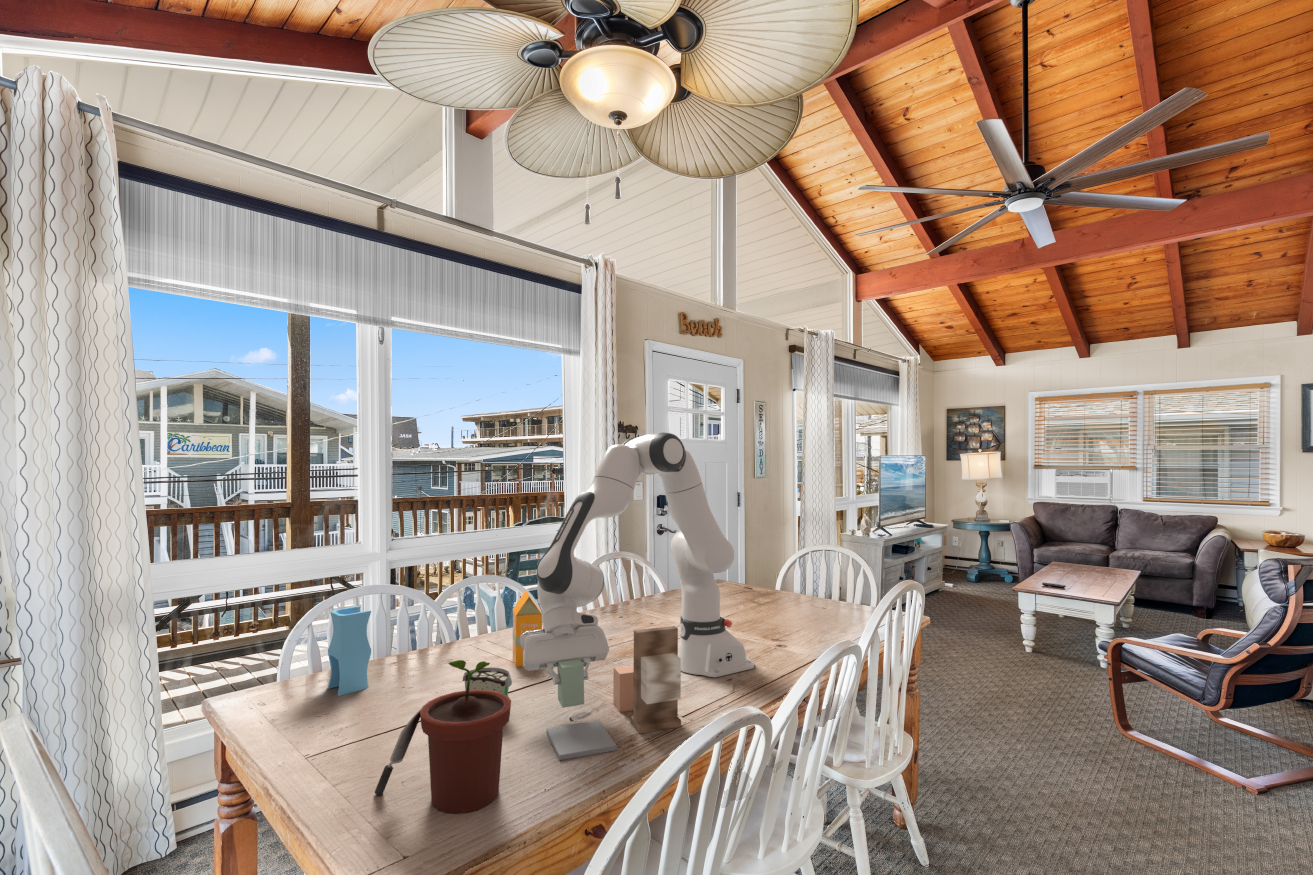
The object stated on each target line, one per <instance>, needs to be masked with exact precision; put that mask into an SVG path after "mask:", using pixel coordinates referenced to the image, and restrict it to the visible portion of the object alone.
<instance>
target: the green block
mask: <svg viewBox="0 0 1313 875" xmlns="http://www.w3.org/2000/svg"><path fill="white" fill-rule="evenodd" d="M557 665H558V667H557V674H560V678H561V683H560V684H557V700H558V703H559V704H560V706H561V708H562V709H564V708H570V707H575V706H580V705H581V706H582V705H585V680H584V670H585V667H584V664H583V663H582V662H581V661H580V659H572V660H565V661H558V662H557Z"/></svg>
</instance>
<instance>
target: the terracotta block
mask: <svg viewBox="0 0 1313 875" xmlns="http://www.w3.org/2000/svg"><path fill="white" fill-rule="evenodd" d="M633 690H634V664H629V665H628V664H627V665H622V666H614V667H613V692H612V693H613V698H612V700H613V706H614V707H615V708H616V709H617V711H618V712H619V713H623V712H629V711H633Z"/></svg>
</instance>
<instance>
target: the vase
mask: <svg viewBox="0 0 1313 875" xmlns="http://www.w3.org/2000/svg"><path fill="white" fill-rule="evenodd" d="M371 613H372V610H370V609H369V610H364V611H361V606H360V605H357V606H350V607H345V608H339V609H338V608H337V609H334V610H330V616H331V620H332V630H333V631H332V636H331V641H330V644H329V647H328V648H327V655H328V660H329V664H330V675H329V681H328V684H327V689H333V688H336V687H338V691H337V697H338V696H339V697H341V696H345V695H348V694H352V693H357V692H359V691H364V690H366V689H368V688H370V687H369V681H368V680H369V679H368V668H369V667H368V666H369V662H370V659H371V655H372V648H371V646H370V643H369V640H368V632H367V631H368V623H369V620H370V617H371Z"/></svg>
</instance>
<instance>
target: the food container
mask: <svg viewBox="0 0 1313 875" xmlns="http://www.w3.org/2000/svg"><path fill="white" fill-rule="evenodd" d="M475 669H476V668H474V669H469V671H470V673H472V672H473V671H474V670H475ZM462 676H463V677H462V682H464V691H465V690H466V688H467V680H468V673H467V671H465V672H464V674H463V675H462ZM512 684H513V680H512V675H511V674H510V672H509V671H508V670H507V669H505V668H500V667H492V666H491V667H484V668H482V669H481V670H479V671H477V672H475V673H473V675H472V676H471V677H470V686H469V690H491V691H496V692H500V693H503V694H505V695H507V696H508V697H509V689H510V687H511V686H512Z"/></svg>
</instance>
